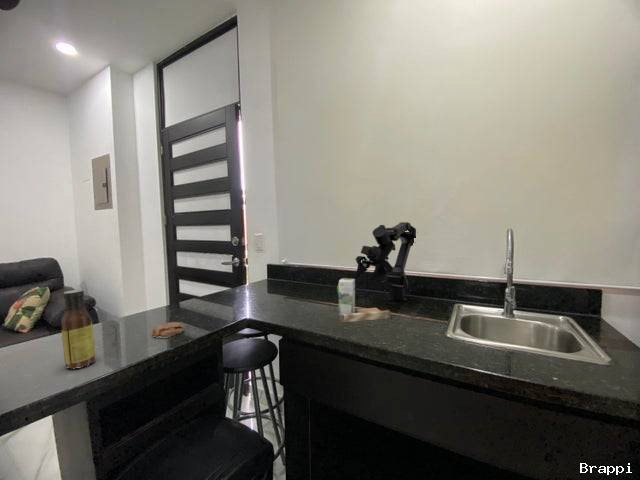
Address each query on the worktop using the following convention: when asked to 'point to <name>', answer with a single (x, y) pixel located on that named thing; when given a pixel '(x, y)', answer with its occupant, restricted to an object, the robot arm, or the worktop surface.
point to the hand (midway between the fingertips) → (362, 279)
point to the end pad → (367, 310)
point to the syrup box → (346, 296)
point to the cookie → (167, 329)
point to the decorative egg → (338, 286)
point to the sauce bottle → (77, 331)
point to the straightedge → (364, 316)
